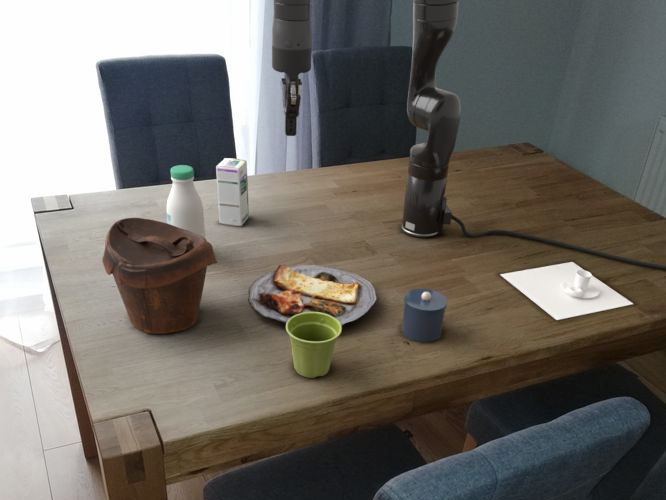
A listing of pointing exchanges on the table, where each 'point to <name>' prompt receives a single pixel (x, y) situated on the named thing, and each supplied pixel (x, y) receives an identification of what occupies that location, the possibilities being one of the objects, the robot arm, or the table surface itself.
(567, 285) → the teacup and saucer
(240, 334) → the table surface
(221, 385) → the table surface
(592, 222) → the table surface
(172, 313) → the brown covered bucket
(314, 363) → the plant pot
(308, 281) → the food plate
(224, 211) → the syrup box
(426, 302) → the sugar pot
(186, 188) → the milk bottle
